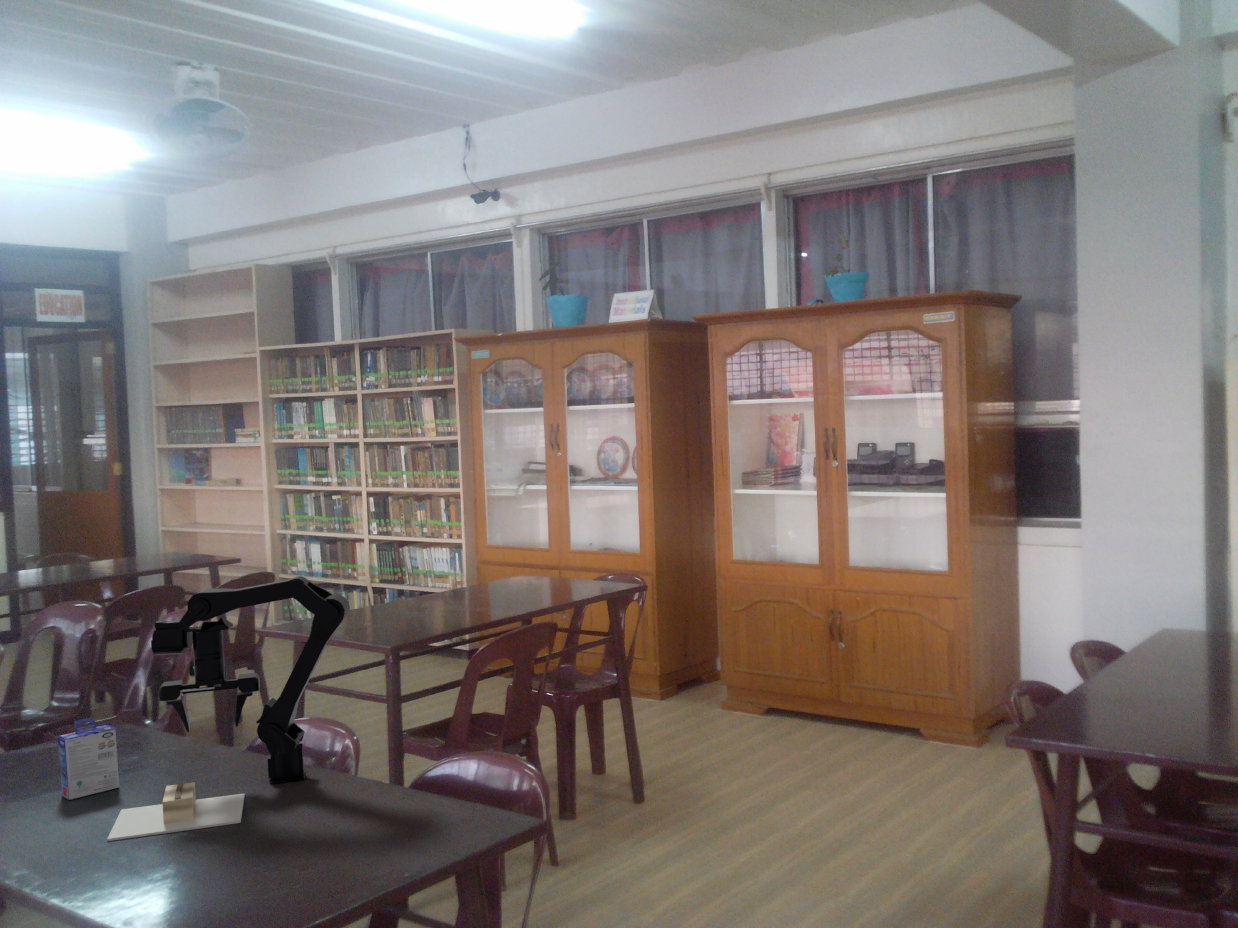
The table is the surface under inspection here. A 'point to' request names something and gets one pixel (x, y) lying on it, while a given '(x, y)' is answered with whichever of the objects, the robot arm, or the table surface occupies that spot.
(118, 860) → the table surface
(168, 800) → the grooved beige block
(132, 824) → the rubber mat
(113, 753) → the ink cartridge box
